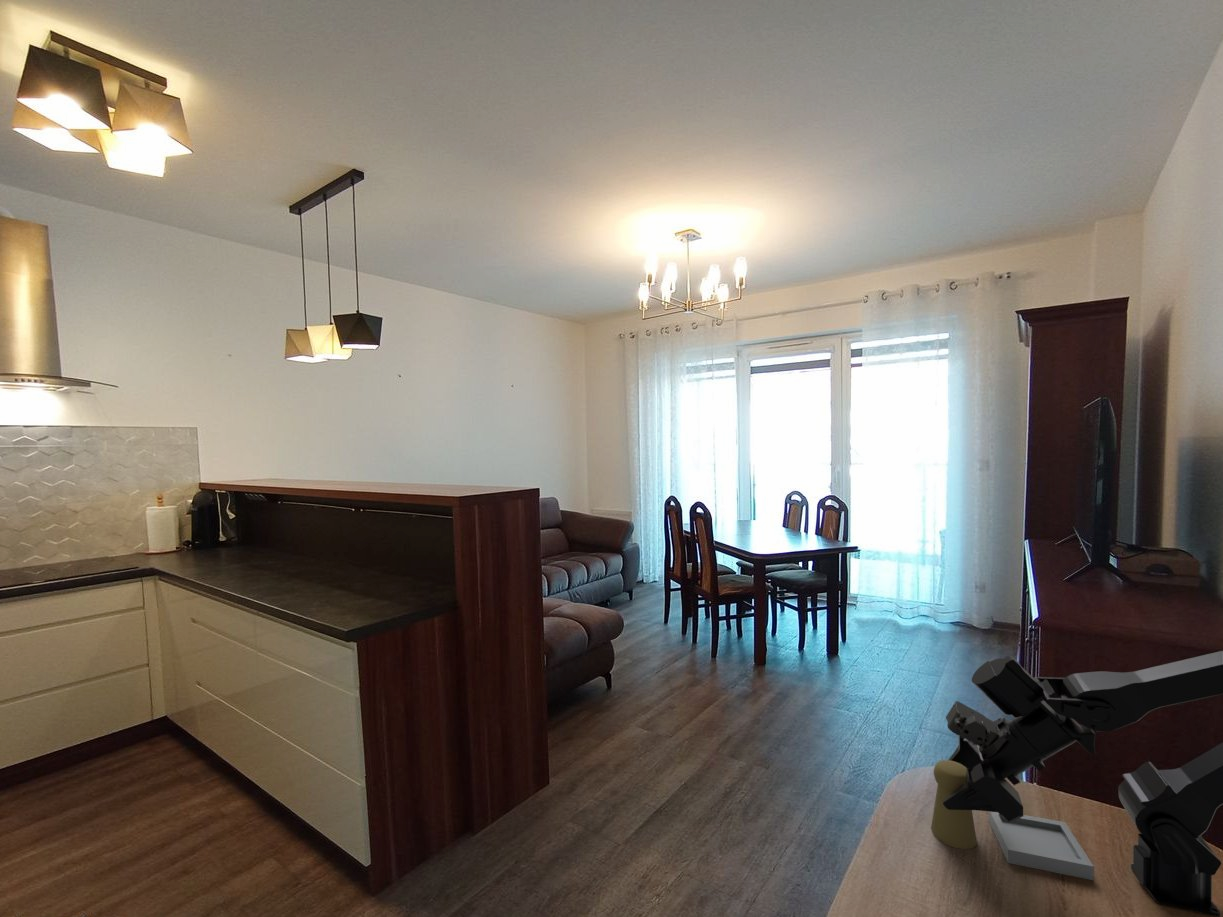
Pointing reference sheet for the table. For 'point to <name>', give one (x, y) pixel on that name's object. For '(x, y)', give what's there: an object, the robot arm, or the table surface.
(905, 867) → the table surface
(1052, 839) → the gray tray
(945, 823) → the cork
